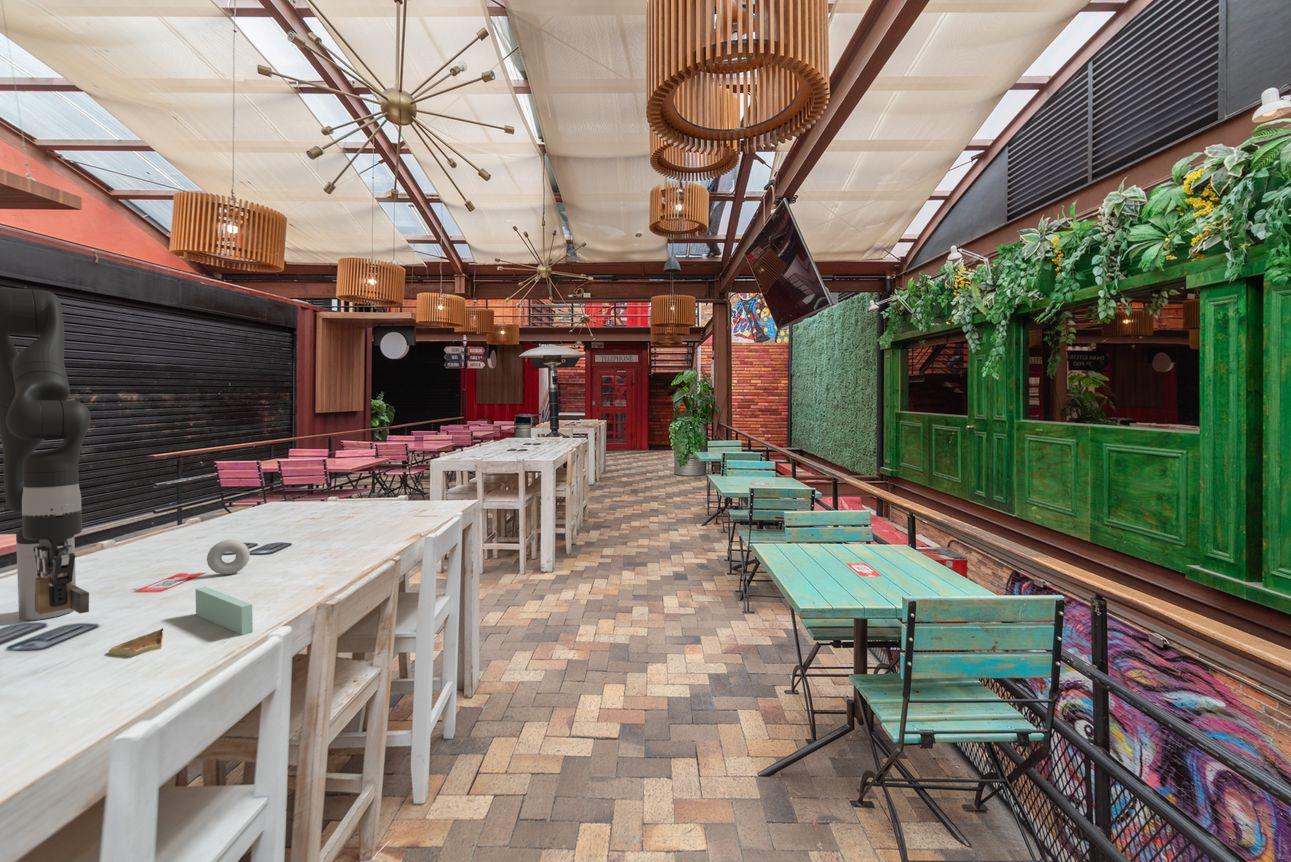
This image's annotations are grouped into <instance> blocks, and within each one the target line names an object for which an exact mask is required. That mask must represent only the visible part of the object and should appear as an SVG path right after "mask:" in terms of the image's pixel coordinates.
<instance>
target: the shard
mask: <svg viewBox="0 0 1291 862" xmlns="http://www.w3.org/2000/svg"><path fill="white" fill-rule="evenodd" d="M163 632H164V627H162V628H161V629H158V630H156V631H152V632H151V633H148V634H144V635H141V636H138V637H137V638H133V639H131V640H127V641H125V642H122V643H120V644H118V645H116V646H113V647H111V648H110V649H109V650H108V654H109V655H113V656H116V655H117V656H124V657H125V656H126V657H130V658H131V657H135V656H137V655H140V654H144V653H148V652H151V651H152V652H153V651H157V650H161V649H162V647H163V645H162V643H163V637H164V633H163Z"/></svg>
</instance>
